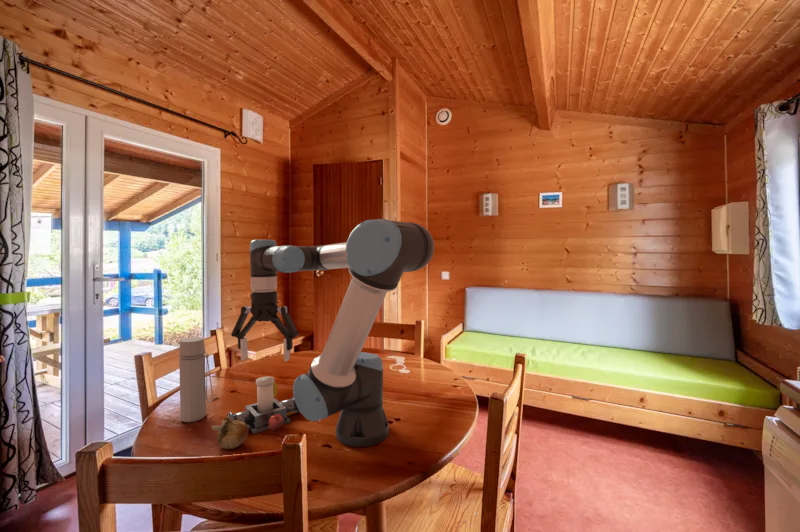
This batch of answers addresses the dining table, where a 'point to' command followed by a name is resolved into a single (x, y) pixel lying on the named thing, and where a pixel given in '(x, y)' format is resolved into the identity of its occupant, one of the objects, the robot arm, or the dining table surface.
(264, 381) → the pipe stub
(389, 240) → the robot arm
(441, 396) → the dining table surface
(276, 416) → the valve body
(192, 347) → the water bottle
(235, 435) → the onion
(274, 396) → the lemon
